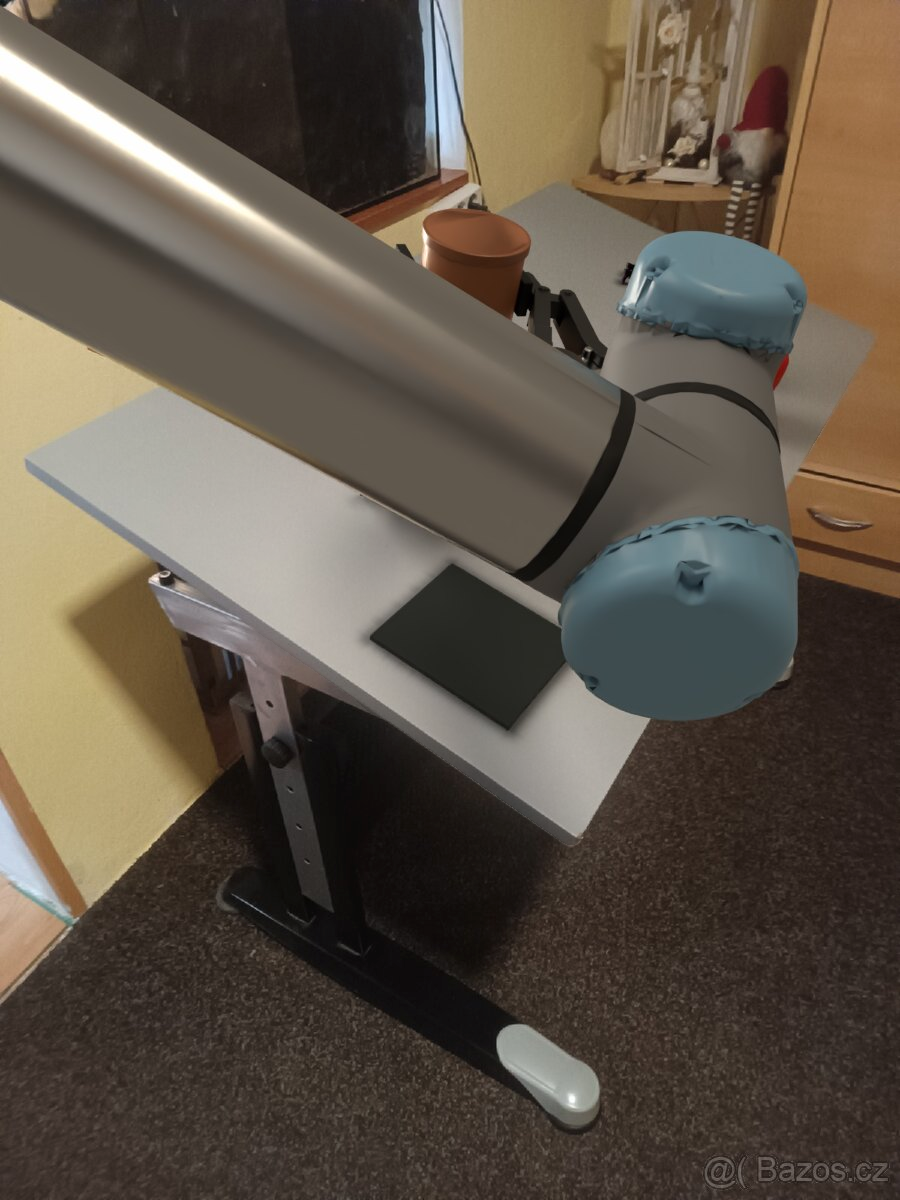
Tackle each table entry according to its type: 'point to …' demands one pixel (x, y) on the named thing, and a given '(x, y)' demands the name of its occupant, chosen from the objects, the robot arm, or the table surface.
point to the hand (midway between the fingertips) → (448, 261)
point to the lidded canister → (477, 254)
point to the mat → (475, 644)
